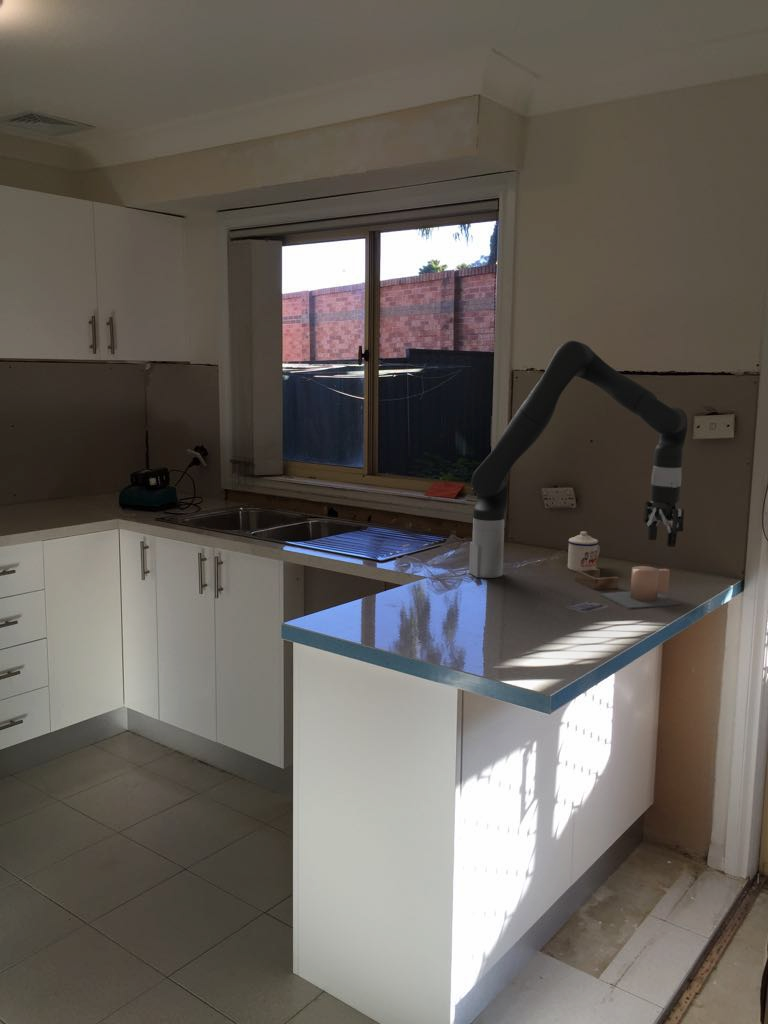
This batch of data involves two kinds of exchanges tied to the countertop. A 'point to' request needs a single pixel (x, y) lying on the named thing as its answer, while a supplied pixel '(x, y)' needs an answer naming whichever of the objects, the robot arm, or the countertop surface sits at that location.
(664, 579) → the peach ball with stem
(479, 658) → the countertop surface
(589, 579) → the walnut holder
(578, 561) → the teacup with lid
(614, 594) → the charcoal mat
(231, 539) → the countertop surface
